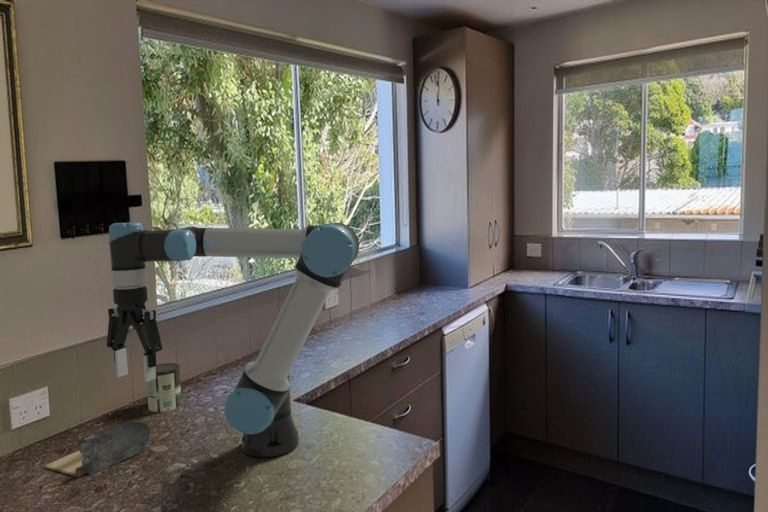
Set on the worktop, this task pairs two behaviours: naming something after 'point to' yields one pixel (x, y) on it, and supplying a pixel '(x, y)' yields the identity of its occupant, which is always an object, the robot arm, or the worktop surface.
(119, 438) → the stone slab
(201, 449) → the worktop surface
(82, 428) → the worktop surface
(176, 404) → the coffee can
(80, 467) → the board
